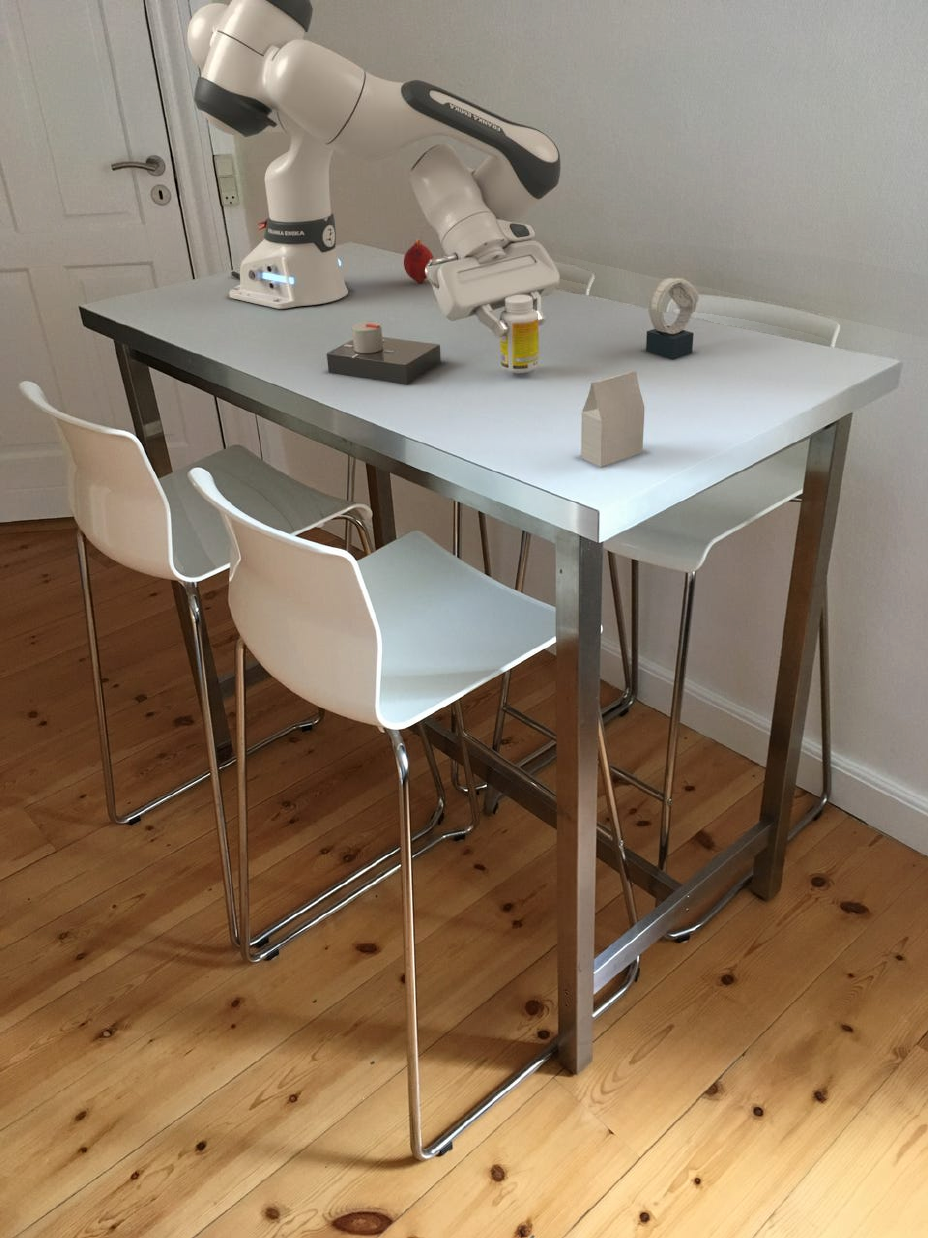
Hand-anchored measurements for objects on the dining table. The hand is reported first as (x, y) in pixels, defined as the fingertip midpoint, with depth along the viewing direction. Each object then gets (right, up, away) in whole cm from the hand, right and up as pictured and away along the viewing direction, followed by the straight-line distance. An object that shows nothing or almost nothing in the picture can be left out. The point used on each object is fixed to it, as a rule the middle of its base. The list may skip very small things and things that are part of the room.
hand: (522, 329), depth 157 cm
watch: (+23, -1, +10) cm, 25 cm away
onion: (-17, +22, +50) cm, 57 cm away
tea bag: (+10, -22, -23) cm, 33 cm away
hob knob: (-23, -1, +7) cm, 24 cm away
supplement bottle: (0, -5, +4) cm, 6 cm away
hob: (-20, -4, +9) cm, 22 cm away
